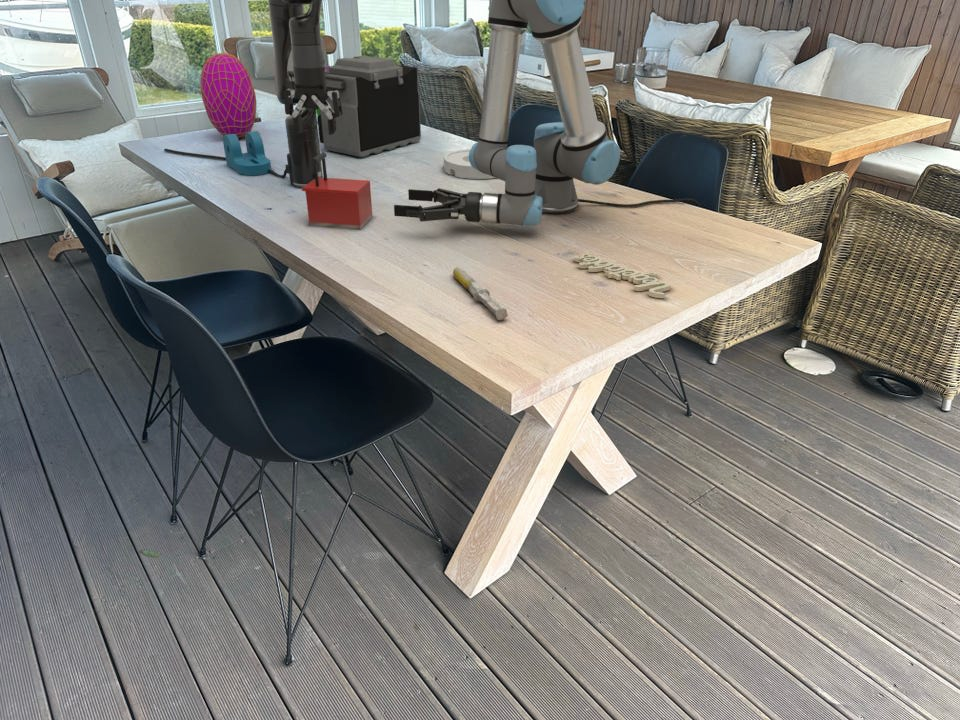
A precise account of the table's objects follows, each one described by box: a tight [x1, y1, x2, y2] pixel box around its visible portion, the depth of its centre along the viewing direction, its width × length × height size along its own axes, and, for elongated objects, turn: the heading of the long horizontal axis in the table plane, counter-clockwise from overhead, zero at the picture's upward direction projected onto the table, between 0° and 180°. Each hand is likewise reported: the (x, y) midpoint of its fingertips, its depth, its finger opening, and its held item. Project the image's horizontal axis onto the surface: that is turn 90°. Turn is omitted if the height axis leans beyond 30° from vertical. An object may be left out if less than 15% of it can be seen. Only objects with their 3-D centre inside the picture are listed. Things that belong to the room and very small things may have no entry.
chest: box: [304, 183, 373, 230], centre depth 183 cm, size 14×10×9 cm
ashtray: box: [443, 148, 497, 180], centre depth 230 cm, size 23×23×4 cm
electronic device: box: [317, 55, 422, 159], centre depth 250 cm, size 37×22×30 cm, turn 144°
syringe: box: [452, 266, 509, 321], centre depth 145 cm, size 25×4×3 cm, turn 21°
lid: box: [301, 151, 371, 195], centre depth 178 cm, size 15×10×8 cm
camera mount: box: [222, 131, 272, 176], centre depth 226 cm, size 18×10×10 cm, turn 35°
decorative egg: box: [200, 52, 257, 139], centre depth 259 cm, size 19×19×30 cm
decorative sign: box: [574, 252, 671, 299], centre depth 155 cm, size 26×1×10 cm
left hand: (316, 133), depth 174 cm, fingers open, 8 cm apart
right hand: (401, 202), depth 179 cm, fingers open, 13 cm apart
